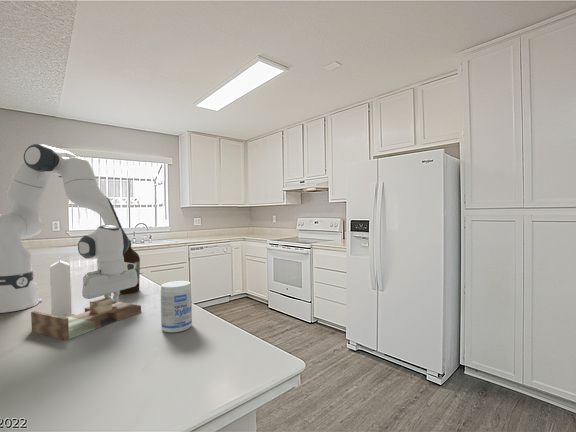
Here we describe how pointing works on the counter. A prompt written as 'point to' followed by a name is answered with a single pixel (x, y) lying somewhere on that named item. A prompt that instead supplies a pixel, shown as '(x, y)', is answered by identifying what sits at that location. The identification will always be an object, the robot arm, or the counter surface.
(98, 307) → the block
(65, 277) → the milk
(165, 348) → the counter surface
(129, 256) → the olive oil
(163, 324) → the supplement tub
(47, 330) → the board
